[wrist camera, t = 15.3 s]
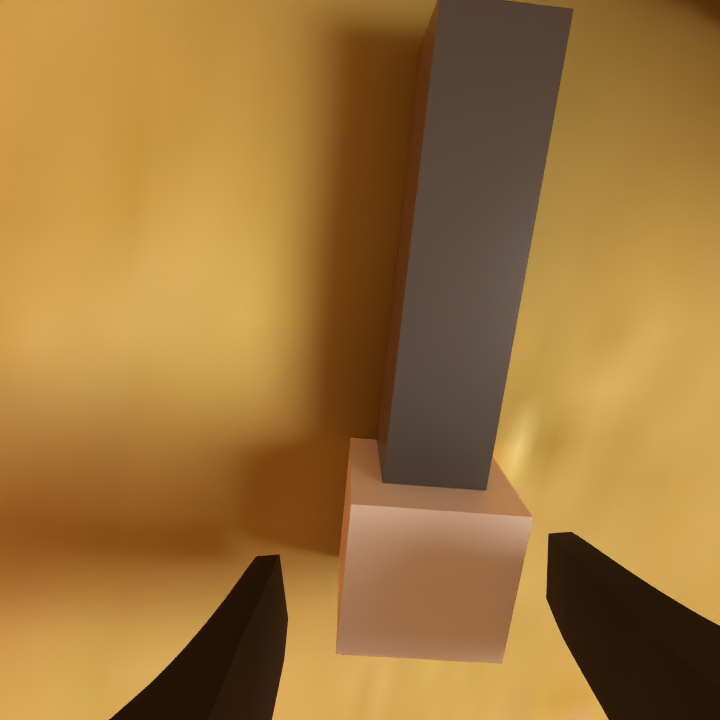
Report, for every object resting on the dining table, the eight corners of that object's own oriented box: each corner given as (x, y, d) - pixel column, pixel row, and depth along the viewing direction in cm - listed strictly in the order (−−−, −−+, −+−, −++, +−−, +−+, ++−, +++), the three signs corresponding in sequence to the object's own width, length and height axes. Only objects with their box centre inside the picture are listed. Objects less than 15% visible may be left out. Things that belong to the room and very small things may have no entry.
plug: (554, 64, 11) (646, -17, 8) (466, 564, 14) (502, 663, 11) (388, 44, 11) (406, -46, 7) (339, 556, 14) (335, 654, 11)
